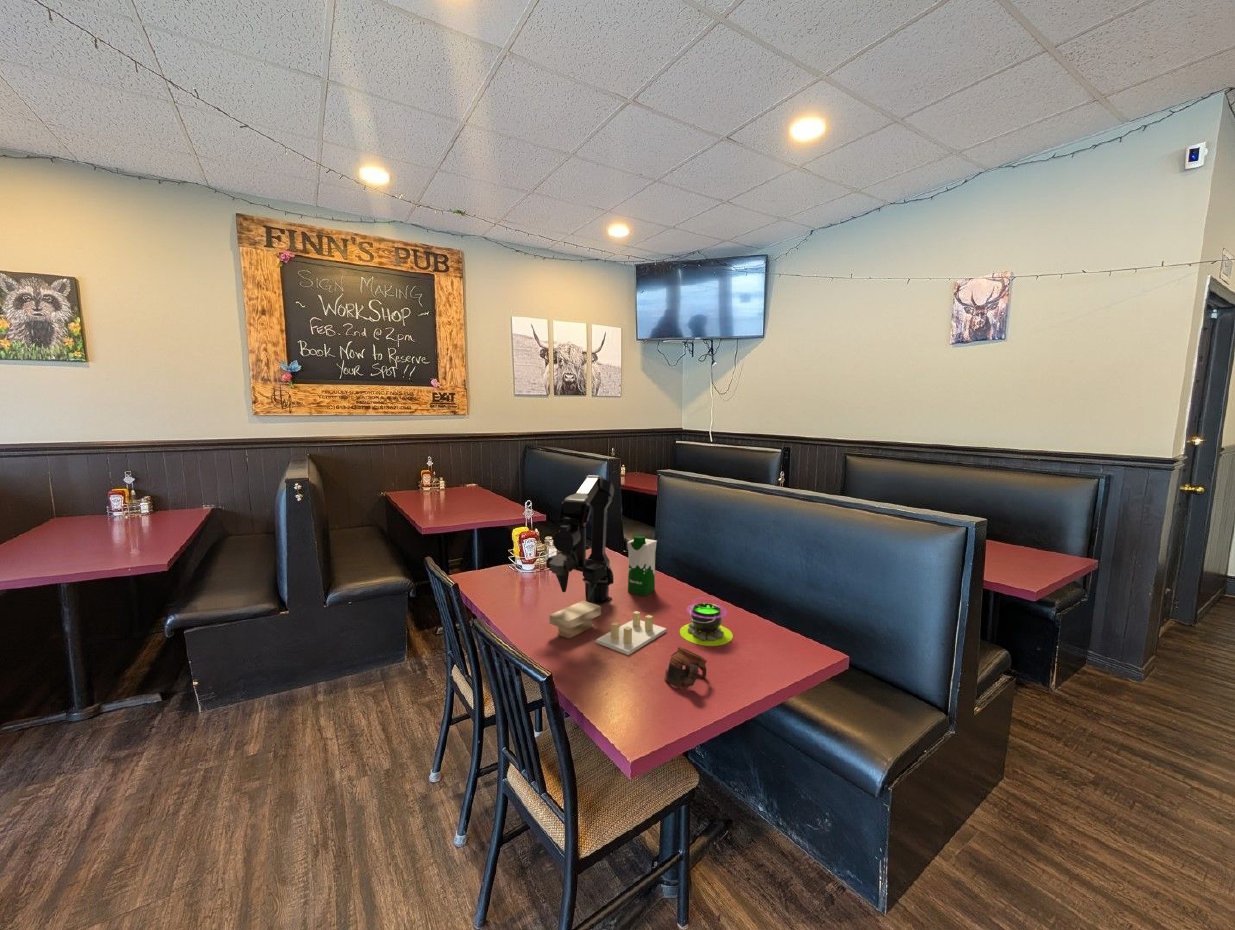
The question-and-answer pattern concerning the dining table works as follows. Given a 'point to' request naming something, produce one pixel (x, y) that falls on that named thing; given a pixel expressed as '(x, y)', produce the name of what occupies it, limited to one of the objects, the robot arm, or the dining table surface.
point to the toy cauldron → (706, 625)
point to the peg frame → (631, 634)
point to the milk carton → (641, 565)
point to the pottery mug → (690, 673)
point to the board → (575, 615)
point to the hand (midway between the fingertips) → (575, 595)
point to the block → (575, 629)
